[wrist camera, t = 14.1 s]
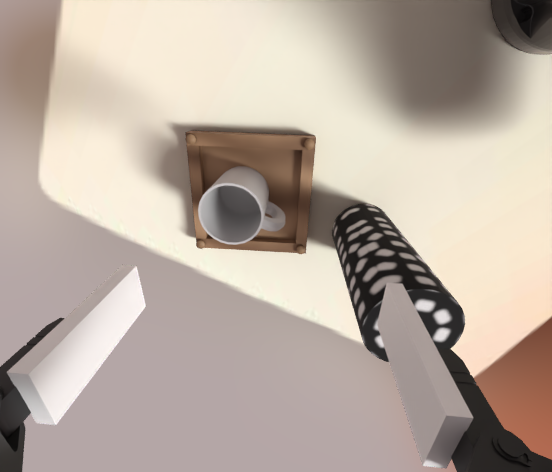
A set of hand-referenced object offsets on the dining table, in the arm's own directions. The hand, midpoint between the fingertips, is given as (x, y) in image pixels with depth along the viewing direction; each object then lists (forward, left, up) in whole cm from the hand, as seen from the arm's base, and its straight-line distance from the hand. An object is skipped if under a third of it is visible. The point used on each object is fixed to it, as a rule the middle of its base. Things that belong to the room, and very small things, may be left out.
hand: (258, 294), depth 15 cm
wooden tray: (+3, -4, -26) cm, 27 cm away
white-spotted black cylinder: (+8, +12, -27) cm, 30 cm away
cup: (+3, -4, -25) cm, 26 cm away
